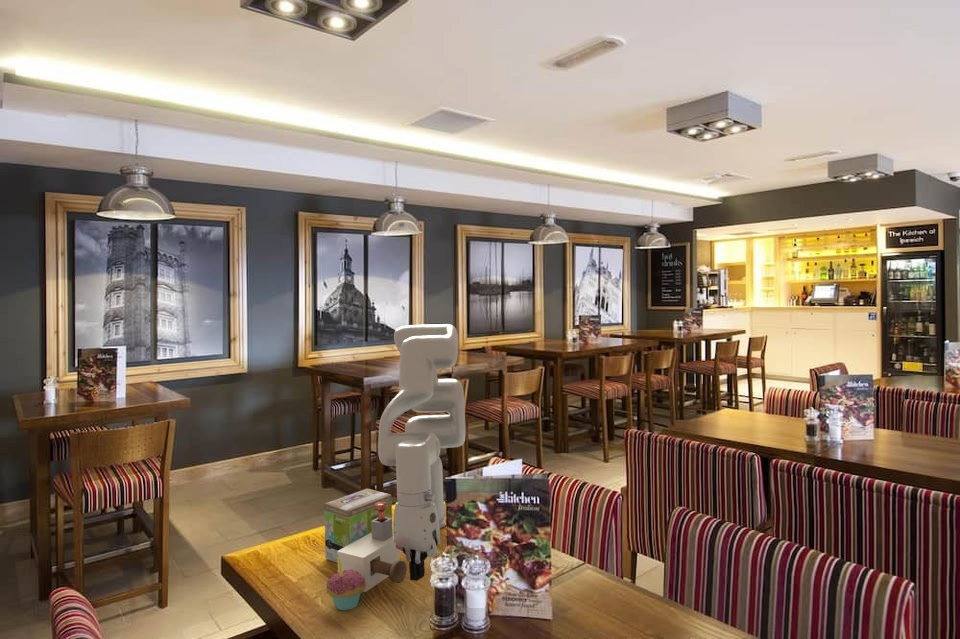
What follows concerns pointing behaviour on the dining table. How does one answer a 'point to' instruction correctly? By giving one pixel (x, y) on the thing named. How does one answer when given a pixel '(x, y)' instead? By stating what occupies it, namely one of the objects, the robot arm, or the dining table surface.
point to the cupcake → (345, 587)
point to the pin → (390, 569)
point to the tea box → (351, 519)
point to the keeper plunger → (381, 510)
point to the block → (371, 552)
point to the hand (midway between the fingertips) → (417, 578)
